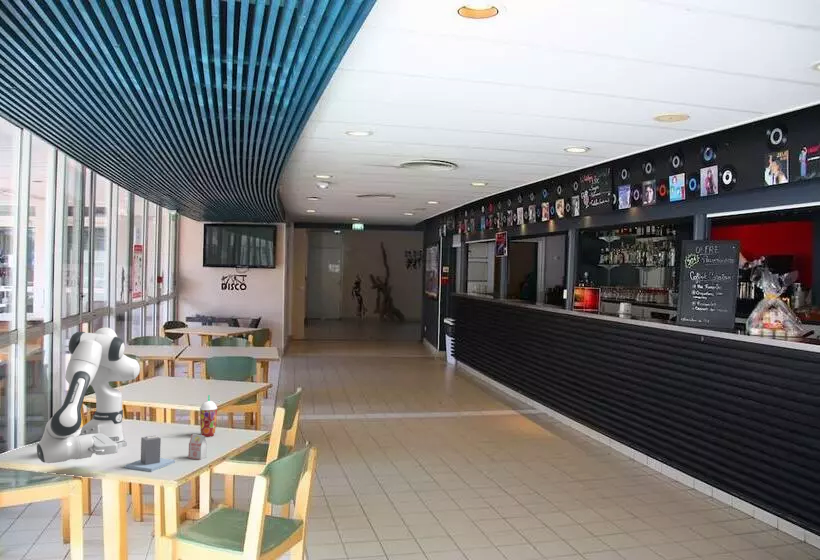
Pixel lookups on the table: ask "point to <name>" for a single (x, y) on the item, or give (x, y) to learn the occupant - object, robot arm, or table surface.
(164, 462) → the panel
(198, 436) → the white paper bag
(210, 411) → the smoothie
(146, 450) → the tall gray block
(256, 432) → the table surface
